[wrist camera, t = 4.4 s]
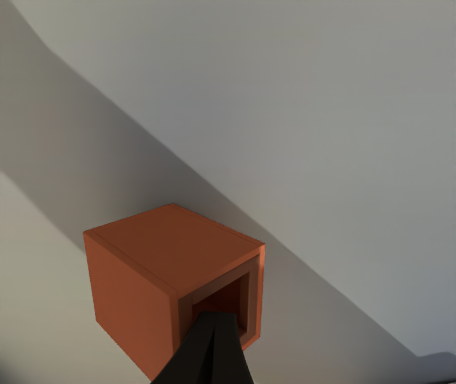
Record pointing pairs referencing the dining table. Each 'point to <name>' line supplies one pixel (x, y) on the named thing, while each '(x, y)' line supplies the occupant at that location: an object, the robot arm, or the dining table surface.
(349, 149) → the dining table surface
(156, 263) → the orange open-ended box
